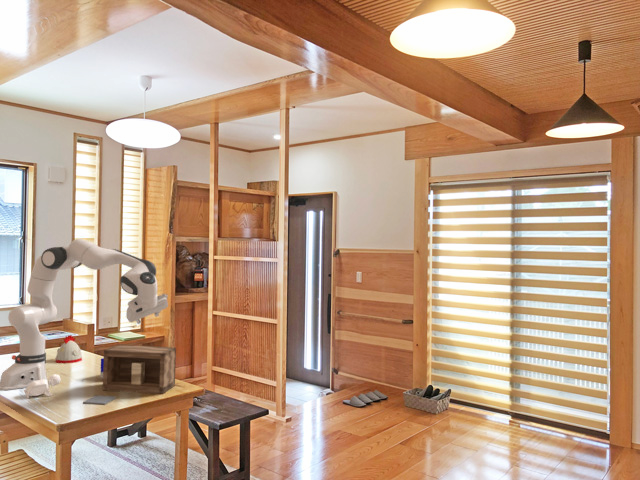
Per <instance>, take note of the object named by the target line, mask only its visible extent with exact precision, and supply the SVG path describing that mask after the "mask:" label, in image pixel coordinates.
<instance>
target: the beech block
mask: <svg viewBox="0 0 640 480" xmlns="http://www.w3.org/2000/svg"><path fill="white" fill-rule="evenodd" d="M144 379H145V361H135V362H133V363H132V375H131V384H142V383H144Z"/></svg>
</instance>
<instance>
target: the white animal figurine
mask: <svg viewBox="0 0 640 480" xmlns="http://www.w3.org/2000/svg"><path fill="white" fill-rule="evenodd" d="M61 380H62V379H61V377H60V375H59V374H58V373H57V374H55V373H54V374H52V375H50V376H49V377H48V381H47V380H46V379H42V380H37V381H33V382H31V383H30V384H29V385H28V387H26V388H25V389H24V390H23V392H24V394H25V396H26V398H27V400H28V399H30V398H29V397H37V396H42V395H43V394H45V395H46V396H48V397H52V393H51V392H50V390H49V389H50V386H51V387H55V386H57V385H59V384H60V383H61Z"/></svg>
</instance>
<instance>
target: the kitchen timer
mask: <svg viewBox="0 0 640 480" xmlns="http://www.w3.org/2000/svg"><path fill="white" fill-rule="evenodd" d="M75 340H76V337H74V336H72V335H71V334H69V335H66V336H65V338H63V342H64V343H62V344H61V345H60V347H59V348H58V349H57V351H56V356H55V362H56V363H58V364H73V363H78V362H82V360H83V355H82V350H81V348H80V345H78V344H77V342H75Z"/></svg>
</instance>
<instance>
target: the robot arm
mask: <svg viewBox="0 0 640 480" xmlns="http://www.w3.org/2000/svg"><path fill="white" fill-rule="evenodd" d="M81 265H83V266H84V267H86V268H88V269H92V270H94V271H95V270H102V269H104V268H107V267H110V266H114V265H123V266H125V267H126V266H127V267H129V268H131V269H129V270H128V271H126V272H125V273H124V274H123V275H122V276H121V277H120V280H119V282H120V287H121V289H122V290H123V291H124V292H125V293H127V294H129V295H133V296H135V297H134V298H133V299H131V300H129V301H128V302H127V306H128V307H127V309H126V313H125V317H126V319H127V321H128V322H129V323H133V322H136V324H137V325H140V324H142V321H141V319H143V318H147V317H148V316H151V315H153V314H154V316H155V318H157V317H159V315H160V313H161V311H163V310H166V309H167V308H168V307H169V303H168V302H169V301H168V296H169V295H168V294H167V293H162V294H159V295H158V290H159V289H158V280H157V277H156V276H157V275H156V274H157V267H156V265H155V263H153V262H152V261H150V260H147V259H142V258H139V257H137V256H134V255H132V254H129V253H127V252H124V251H122V250H120V249H115V248H104V247H101V246H99V245H97V244H95V243H93V242H91V241H89V240H86V239H83V238H75V239H74V240H71V242H70V243H69V245H68V246H55V247H54V246H53V247H49V248H47V249H45V250H44V251H43V252H42V254H41V255H40V256H38V258H37V259H36V261H35V263H34V265H33V268H32V270H31V274H30V278H29V281H28V285H27V293H28V294H29V295H30V296H31V302H30V303H29V304H21V305H19V306H16V307H13V308H12V309H11V310H10V311H9V313H8V317H7V319H8V322H9V324H10V325H11V326H12V327H14V328H15V331H16V332H17V334H18V338H19V354H18V355H15V354H13V355H11V359H12V360H13V361H14V363H12V364H11V365H10V366H9V367H8V368H6V369H5V370H3V372H2V373H1V375H0V390H1V391H9V390H17V389H26V388H27V387H28V385H29V384H30V383H31V382H33V381H37V380H42V379H46V380H47V381H49V378H48V376H47V372H46V362H47V353H46V336H45V335H44V334H42V333H41V331H40V329H39V326H40V325H46V324H48V323H50V322H52V321H54V320H55V319H56V318H57V316H58V308H57V306H56V305H55V304H54V302H53V301H54V300H53V292H54V287H55V283H56V279H57V276H58V272H59V271H60V270H68V269H69V270H70V269H76V268H78V267H80V266H81Z"/></svg>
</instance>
